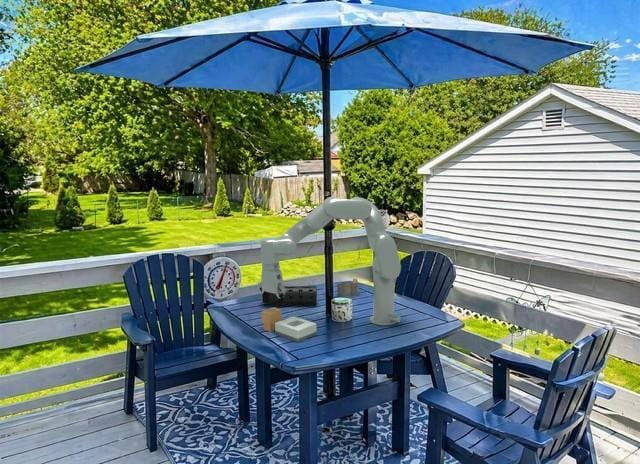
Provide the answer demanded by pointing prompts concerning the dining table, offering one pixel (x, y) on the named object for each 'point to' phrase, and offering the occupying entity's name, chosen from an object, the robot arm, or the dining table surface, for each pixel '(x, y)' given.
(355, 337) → the dining table surface
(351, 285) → the ruin model on sheet
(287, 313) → the dining table surface
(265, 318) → the plug
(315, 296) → the muzzle brake
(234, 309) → the dining table surface
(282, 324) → the socket block
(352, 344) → the dining table surface
